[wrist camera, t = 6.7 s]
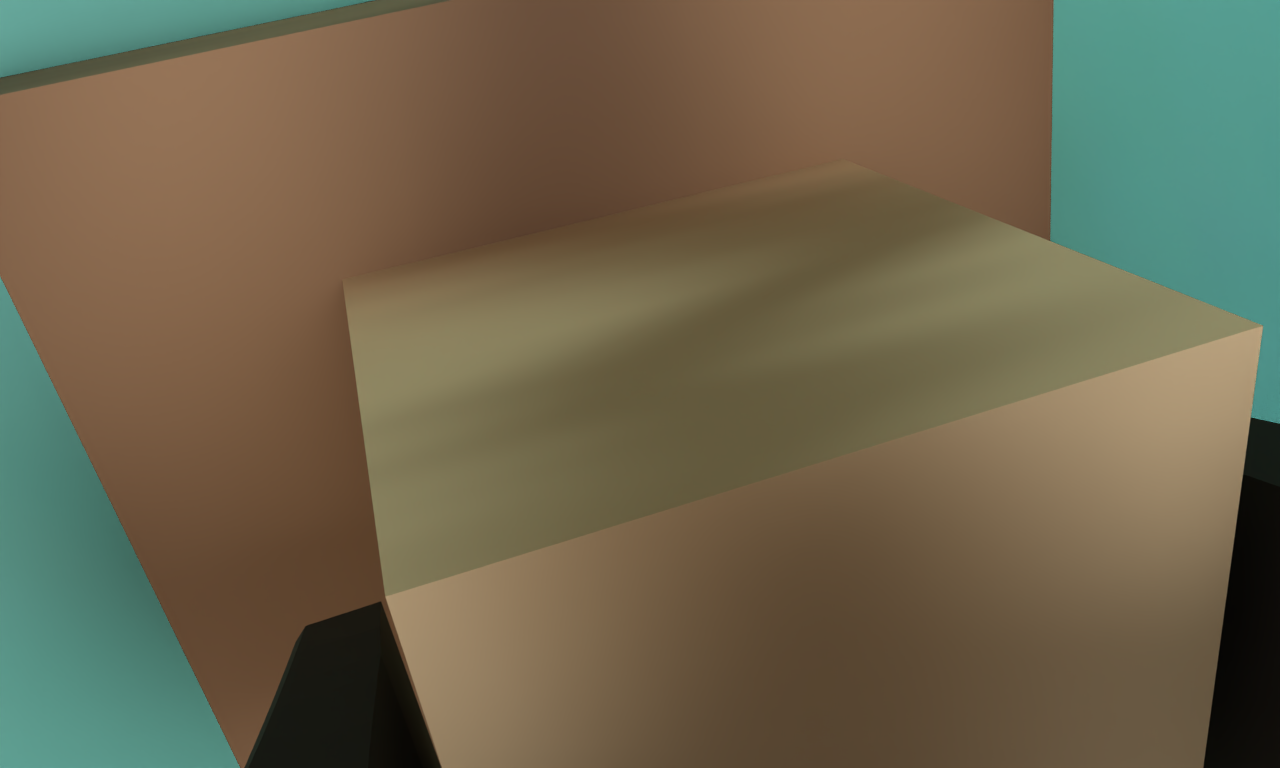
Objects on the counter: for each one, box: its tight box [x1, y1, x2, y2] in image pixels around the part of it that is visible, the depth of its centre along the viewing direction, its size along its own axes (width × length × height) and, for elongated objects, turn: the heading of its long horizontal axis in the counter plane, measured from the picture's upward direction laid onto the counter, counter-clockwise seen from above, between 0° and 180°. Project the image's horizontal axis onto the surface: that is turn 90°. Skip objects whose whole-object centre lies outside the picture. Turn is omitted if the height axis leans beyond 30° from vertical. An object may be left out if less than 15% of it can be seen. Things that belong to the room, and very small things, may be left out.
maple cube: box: [342, 159, 1263, 768], centre depth 8 cm, size 5×5×5 cm
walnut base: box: [0, 0, 1053, 768], centre depth 12 cm, size 10×10×2 cm
